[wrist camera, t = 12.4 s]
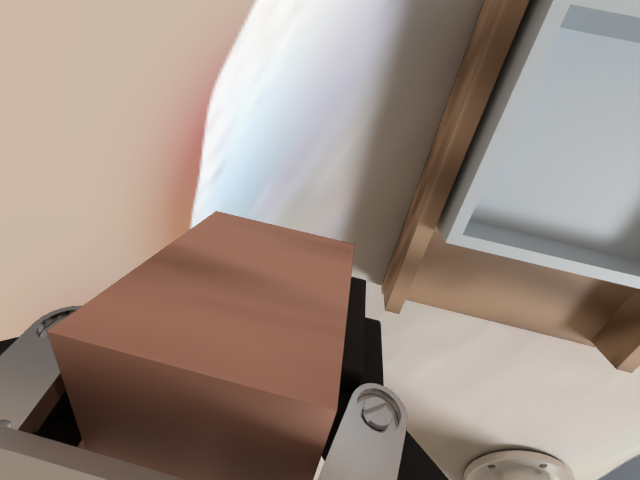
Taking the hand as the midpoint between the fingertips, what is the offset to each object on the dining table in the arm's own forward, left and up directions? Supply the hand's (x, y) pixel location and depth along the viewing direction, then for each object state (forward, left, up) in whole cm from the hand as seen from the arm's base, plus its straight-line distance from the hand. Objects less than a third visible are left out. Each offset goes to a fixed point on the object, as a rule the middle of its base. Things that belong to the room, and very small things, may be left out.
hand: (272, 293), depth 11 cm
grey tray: (+7, -17, -14) cm, 23 cm away
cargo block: (0, 0, -1) cm, 1 cm away
